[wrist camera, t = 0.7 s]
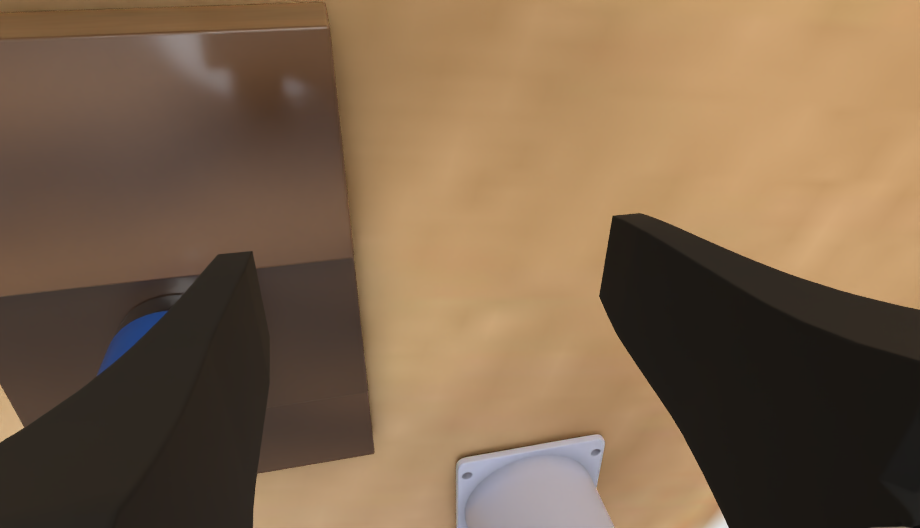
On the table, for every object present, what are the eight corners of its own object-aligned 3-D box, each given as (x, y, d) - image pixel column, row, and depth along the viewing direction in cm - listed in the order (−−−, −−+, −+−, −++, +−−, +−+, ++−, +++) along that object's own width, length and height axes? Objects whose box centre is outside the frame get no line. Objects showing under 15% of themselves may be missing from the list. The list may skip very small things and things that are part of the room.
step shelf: (372, 434, 29) (380, 498, 26) (96, 479, 26) (69, 556, 23) (325, 1, 18) (329, 25, 15) (-134, 16, 16) (-232, 48, 13)
